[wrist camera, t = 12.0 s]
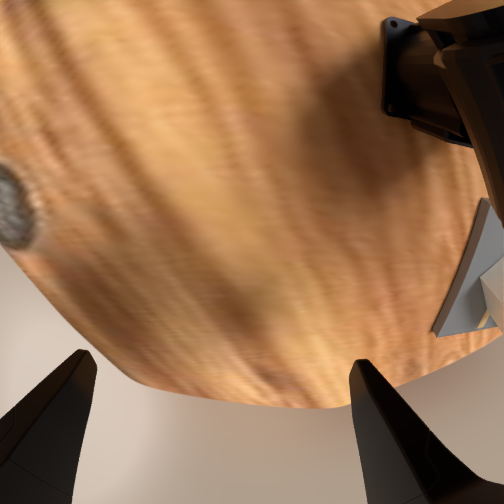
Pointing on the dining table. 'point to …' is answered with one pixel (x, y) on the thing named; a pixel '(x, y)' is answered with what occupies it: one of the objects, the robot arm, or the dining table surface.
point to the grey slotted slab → (473, 277)
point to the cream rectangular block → (495, 292)
